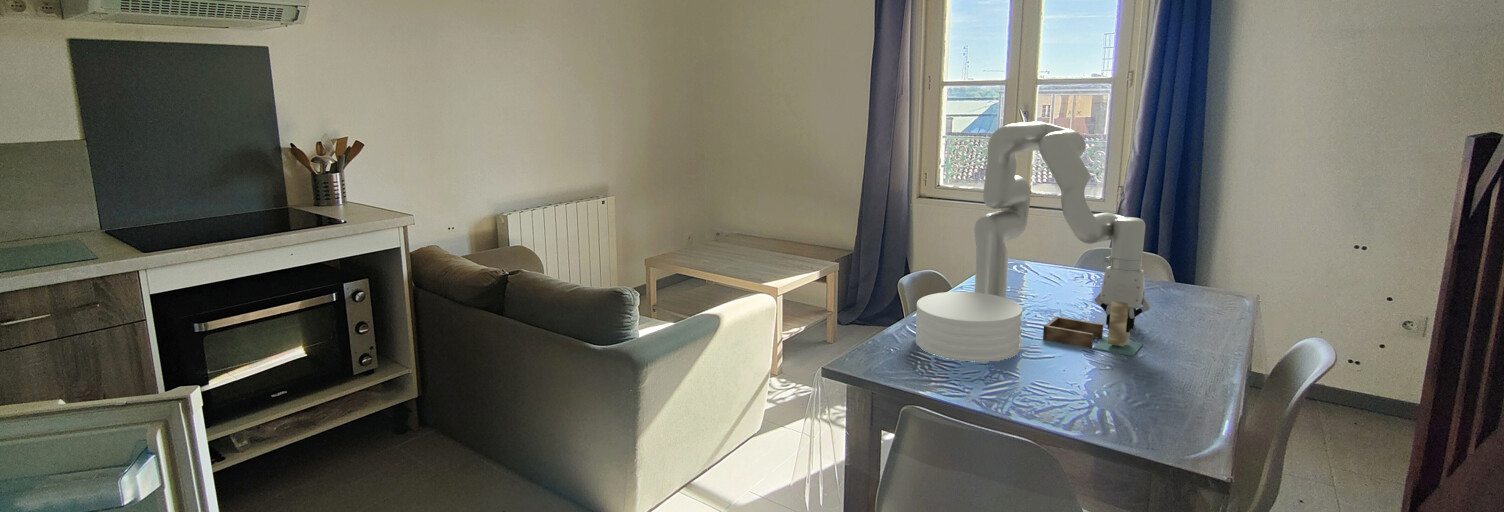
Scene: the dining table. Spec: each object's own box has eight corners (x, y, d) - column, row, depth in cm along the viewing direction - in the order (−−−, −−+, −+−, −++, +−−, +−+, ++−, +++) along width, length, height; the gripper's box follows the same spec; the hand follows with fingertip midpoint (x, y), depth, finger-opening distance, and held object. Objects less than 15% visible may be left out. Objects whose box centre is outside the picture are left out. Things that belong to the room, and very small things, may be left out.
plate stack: (1020, 333, 225) (1022, 295, 223) (1019, 367, 199) (1021, 325, 197) (922, 325, 234) (923, 288, 232) (908, 357, 208) (910, 316, 206)
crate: (1042, 339, 219) (1043, 326, 218) (1055, 329, 228) (1056, 316, 227) (1091, 348, 212) (1092, 334, 211) (1102, 337, 220) (1103, 324, 219)
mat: (1093, 349, 211) (1093, 347, 211) (1104, 338, 220) (1104, 336, 220) (1133, 356, 205) (1133, 355, 205) (1142, 344, 214) (1142, 343, 214)
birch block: (1107, 343, 211) (1111, 301, 208) (1113, 337, 216) (1117, 295, 213) (1123, 346, 209) (1127, 303, 206) (1128, 340, 213) (1133, 298, 210)
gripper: (1088, 262, 209) (1083, 327, 214) (1157, 271, 199) (1150, 339, 203) (1096, 257, 215) (1091, 320, 219) (1163, 265, 205) (1156, 331, 209)
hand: (1119, 328), depth 211 cm, fingers closed on birch block, 4 cm apart
